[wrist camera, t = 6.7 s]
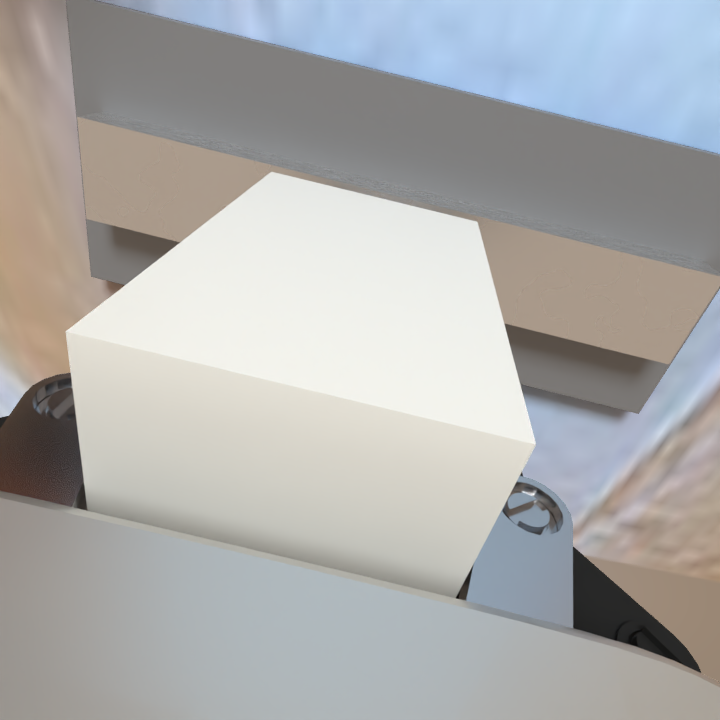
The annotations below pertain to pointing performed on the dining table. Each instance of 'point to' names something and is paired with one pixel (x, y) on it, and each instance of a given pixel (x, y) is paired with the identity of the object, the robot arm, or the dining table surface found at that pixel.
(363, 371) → the block
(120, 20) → the mounting plate
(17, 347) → the dining table surface
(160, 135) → the rail
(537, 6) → the dining table surface
